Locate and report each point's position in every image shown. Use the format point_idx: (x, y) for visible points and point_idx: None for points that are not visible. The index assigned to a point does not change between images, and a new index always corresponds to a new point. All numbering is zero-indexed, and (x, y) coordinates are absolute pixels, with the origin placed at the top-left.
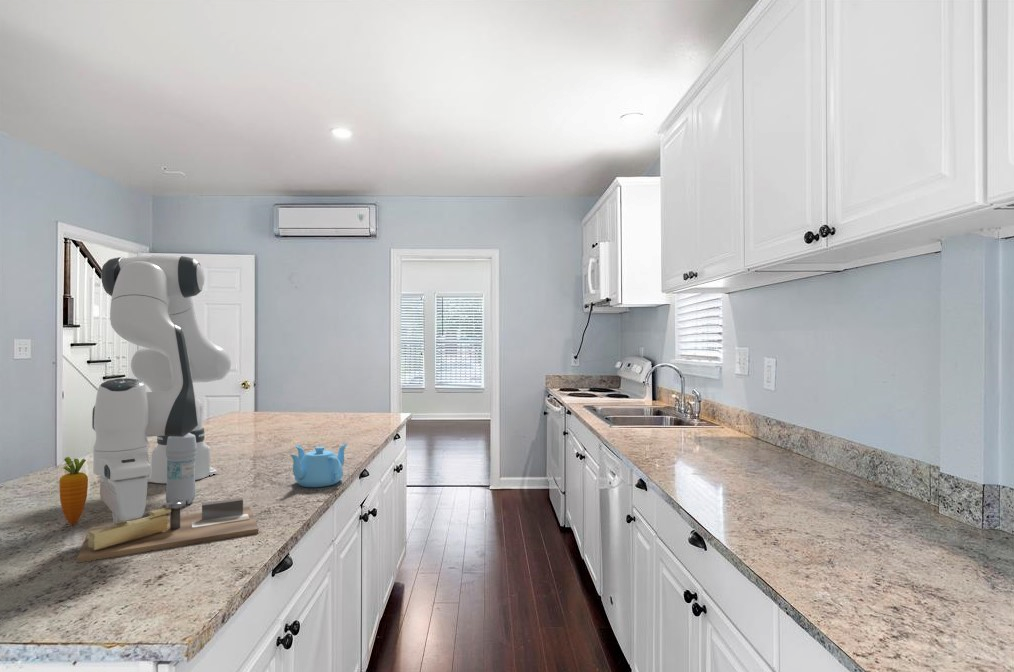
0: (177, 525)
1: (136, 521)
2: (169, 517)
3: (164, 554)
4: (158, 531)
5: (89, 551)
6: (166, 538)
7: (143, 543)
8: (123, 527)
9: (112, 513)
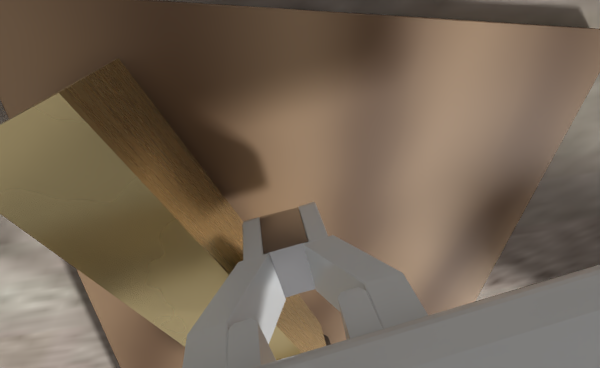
0: None
1: None
2: None
3: (41, 342)
4: None
5: (92, 65)
6: (183, 346)
7: None
8: (139, 309)
9: (367, 279)
